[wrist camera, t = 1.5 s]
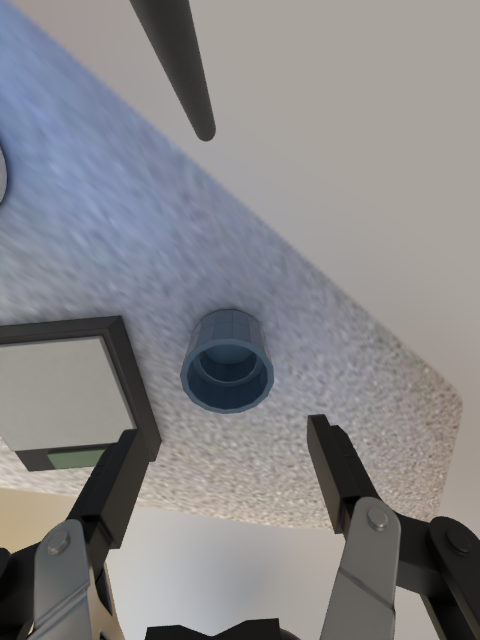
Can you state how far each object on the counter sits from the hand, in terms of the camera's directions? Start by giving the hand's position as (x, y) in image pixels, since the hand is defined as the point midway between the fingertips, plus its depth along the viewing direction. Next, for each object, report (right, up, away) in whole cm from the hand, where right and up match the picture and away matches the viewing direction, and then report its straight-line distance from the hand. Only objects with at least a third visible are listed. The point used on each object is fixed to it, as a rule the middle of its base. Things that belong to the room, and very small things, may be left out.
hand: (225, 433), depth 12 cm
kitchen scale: (-14, -1, +10) cm, 17 cm away
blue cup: (0, +4, +8) cm, 9 cm away
